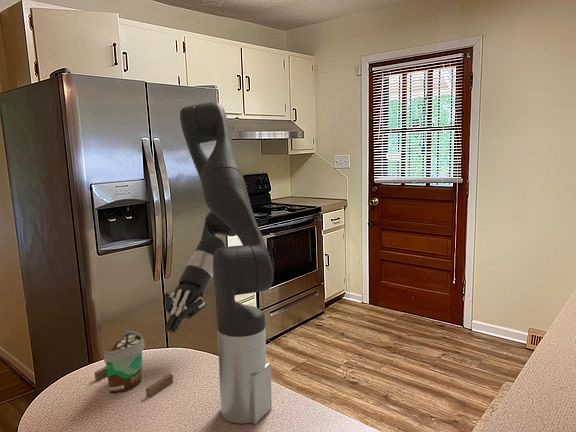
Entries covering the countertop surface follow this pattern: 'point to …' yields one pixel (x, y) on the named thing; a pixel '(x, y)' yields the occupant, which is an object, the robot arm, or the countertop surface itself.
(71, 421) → the countertop surface
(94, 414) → the countertop surface
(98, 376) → the slot rails
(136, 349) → the food container
